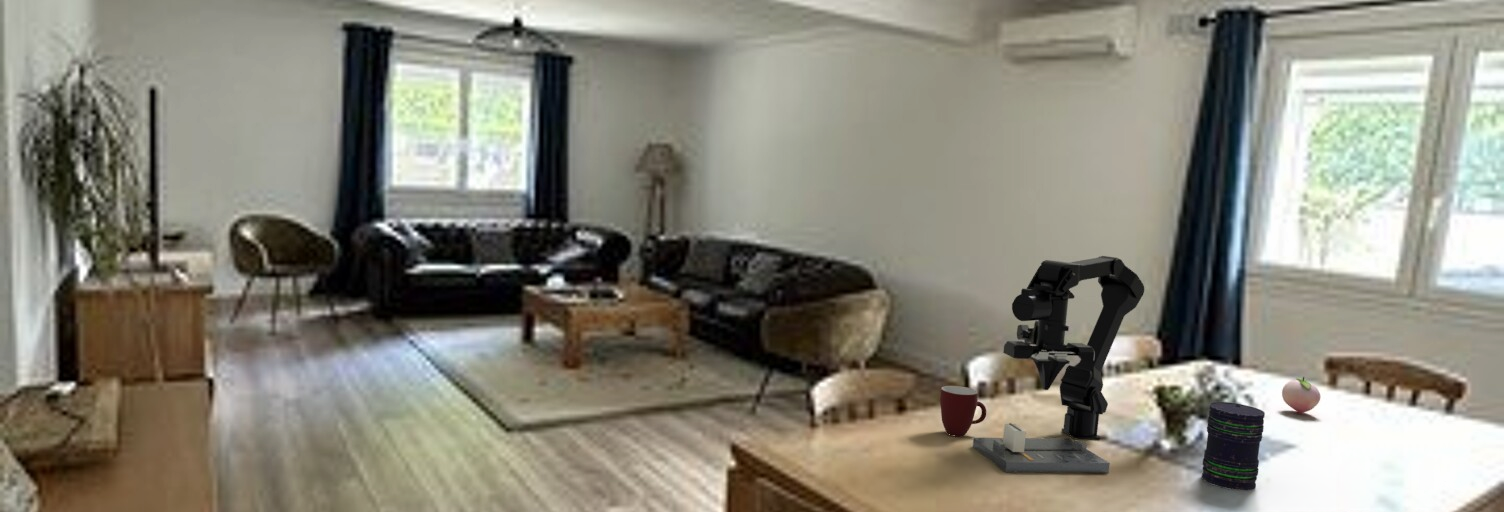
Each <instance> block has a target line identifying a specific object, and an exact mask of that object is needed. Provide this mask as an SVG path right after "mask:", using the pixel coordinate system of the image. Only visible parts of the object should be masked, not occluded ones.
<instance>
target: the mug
mask: <svg viewBox="0 0 1504 512" xmlns="http://www.w3.org/2000/svg"><path fill="white" fill-rule="evenodd" d="M939 397H940V399H939V402H940V414H941V421H942V424H943V425H942V426H943V427H944V430H945V432H947V433H948V434H947V433H946V434H947V435H949V434H950V435H949V436H951V435H955V436H954V437H957V436H962V437H964V435H967V433H968V432H969V429H970V428H971V426H972V425H977V424H980V423H982V422H983V421H984V420H985V419H986V417H987V408H986V405H985V404H984V403H982V402H981V401H978V400H979V399H978V397H979V391H977V390H976V389H974V388H971V387H967V386H962V385H961V386H960V385H959V386H958V385H946V386H942V387H941V388H940V396H939ZM977 407H979V408H980V409H981V415H980V417H978V419H974V418H975V414H976V412H977V411H976V410H977Z"/></svg>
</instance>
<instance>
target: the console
mask: <svg viewBox="0 0 1504 512" xmlns="http://www.w3.org/2000/svg"><path fill="white" fill-rule="evenodd" d="M972 447H973V448H974V449H975V450H976V451H978V453H981V455H983V456H984V457H985V458H986V459H988V460H989V461H991V462H992V463H993V464H995V466H997V467H998V468H999V469H1001V470H1002V471H1003V472H1004V473H1051V474H1052V473H1056V474H1057V473H1071V474H1072V473H1074V474H1075V473H1081V474H1082V473H1083V474H1085V473H1086V474H1088V473H1090V474H1091V473H1093V474H1094V473H1095V474H1097V473H1098V474H1099V473H1101V474H1103V473H1104V474H1105V473H1107V474H1108V473H1109V472H1110V462H1109V461H1107V460H1105V459H1104V458H1102V457H1100V456H1099V455H1097V454H1095V453H1093V452H1092V451H1091V450H1089V449H1087V444H1086V443H1084V442H1083V441H1080V439H1074V440H1073V439H1071V438H1051V437H1049V438H1047V437H1045V438H1044V437H1043V438H1041V437H1038V438H1037V437H1033V438H1032V437H1025V447H1024V452H1012V451H1011V450H1010V449H1008V448H1007V447H1005V444H1004V443H1003V437H973V442H972Z"/></svg>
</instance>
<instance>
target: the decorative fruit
mask: <svg viewBox="0 0 1504 512" xmlns="http://www.w3.org/2000/svg"><path fill="white" fill-rule="evenodd" d="M1281 396H1282V400H1283V402H1284V403H1285V404H1286V405H1288V406H1289V407H1290V408H1291V409H1293V410H1294V411H1295V412H1297V413H1298V414H1303V413H1307V412H1309V411H1312V410H1313V409H1315V407H1317V405H1318V404H1319V403H1320V401H1321V393H1320V391H1319V389H1318V387H1317V386H1315V384H1312V383H1310V382H1308V381H1307V380H1306V379H1305V376H1302V378H1301V377H1300V378H1299V377H1298V378H1297V377H1296V379H1294V380H1290V381H1288V382H1287V383H1285V384H1284V386H1283V388H1282V389H1281Z"/></svg>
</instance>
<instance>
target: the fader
mask: <svg viewBox="0 0 1504 512" xmlns="http://www.w3.org/2000/svg"><path fill="white" fill-rule="evenodd" d="M1003 425H1004V428H1003V436H1002V438H1003V443H1004V444H1005V447H1007V448H1008V449H1010V450H1011V451H1012V452H1024V447H1025V438H1027V437H1026V436H1027V435H1026V434H1027V430H1026V429H1024V428H1022V427H1021V426H1019V425H1018V424H1016V423H1011V422H1009V423H1004V424H1003Z"/></svg>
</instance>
